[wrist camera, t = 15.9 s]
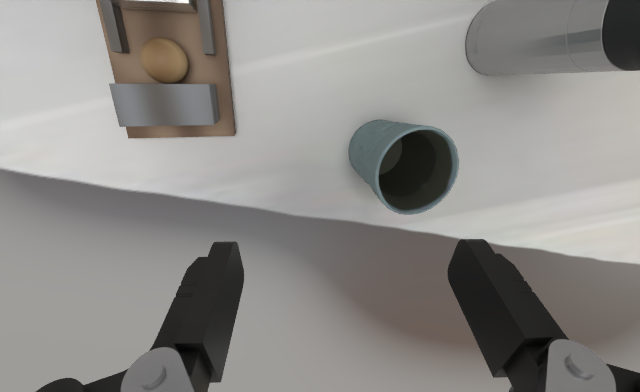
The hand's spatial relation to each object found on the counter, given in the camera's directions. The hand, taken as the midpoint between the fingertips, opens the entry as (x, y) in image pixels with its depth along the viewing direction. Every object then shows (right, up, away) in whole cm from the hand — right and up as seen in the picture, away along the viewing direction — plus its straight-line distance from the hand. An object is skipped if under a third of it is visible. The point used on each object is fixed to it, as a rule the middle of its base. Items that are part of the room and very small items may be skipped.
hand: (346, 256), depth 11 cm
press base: (-18, +23, +21) cm, 36 cm away
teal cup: (+7, +9, +32) cm, 34 cm away
